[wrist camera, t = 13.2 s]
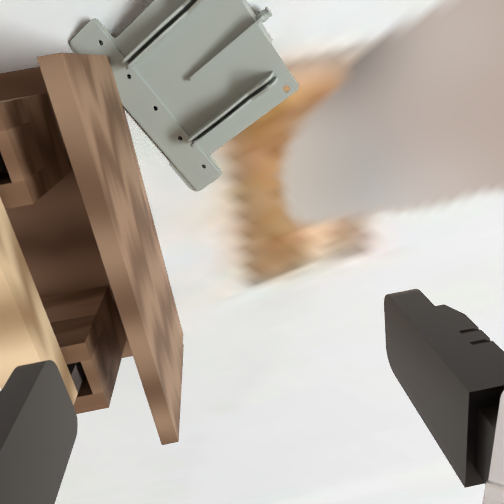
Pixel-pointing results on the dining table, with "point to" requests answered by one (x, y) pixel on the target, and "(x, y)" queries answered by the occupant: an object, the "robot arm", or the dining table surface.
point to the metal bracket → (193, 76)
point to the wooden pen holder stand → (89, 230)
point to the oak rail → (26, 315)
